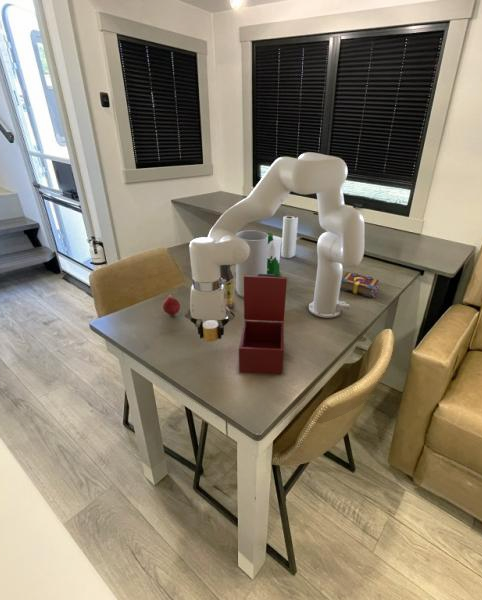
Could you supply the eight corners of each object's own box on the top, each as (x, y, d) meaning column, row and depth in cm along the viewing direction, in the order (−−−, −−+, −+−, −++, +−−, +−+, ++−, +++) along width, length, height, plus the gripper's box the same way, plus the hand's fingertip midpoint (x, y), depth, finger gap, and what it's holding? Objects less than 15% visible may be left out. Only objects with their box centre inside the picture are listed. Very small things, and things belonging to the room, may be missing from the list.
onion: (184, 313, 122) (182, 294, 118) (174, 320, 117) (172, 301, 114) (170, 309, 124) (168, 290, 120) (160, 317, 119) (158, 297, 115)
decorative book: (346, 280, 156) (347, 270, 154) (379, 288, 151) (382, 278, 148) (338, 289, 147) (340, 279, 145) (373, 298, 142) (376, 288, 139)
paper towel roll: (280, 257, 176) (282, 217, 166) (282, 253, 181) (284, 215, 171) (293, 259, 175) (296, 219, 165) (295, 255, 180) (298, 216, 170)
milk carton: (256, 274, 155) (257, 233, 146) (267, 268, 162) (269, 229, 152) (271, 279, 152) (273, 238, 142) (282, 273, 158) (284, 233, 149)
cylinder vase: (241, 301, 133) (241, 241, 121) (233, 287, 143) (232, 231, 130) (270, 296, 137) (272, 239, 125) (260, 283, 147) (261, 229, 135)
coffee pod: (220, 332, 102) (219, 320, 100) (218, 341, 98) (217, 329, 96) (205, 331, 102) (204, 319, 100) (201, 341, 98) (200, 328, 96)
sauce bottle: (230, 310, 126) (229, 262, 116) (215, 307, 127) (212, 259, 117) (236, 302, 132) (235, 255, 122) (221, 300, 132) (219, 253, 123)
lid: (286, 278, 96) (286, 270, 101) (243, 276, 96) (245, 267, 101) (283, 321, 105) (283, 311, 109) (244, 319, 104) (245, 309, 109)
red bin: (282, 374, 97) (283, 350, 92) (239, 372, 96) (238, 348, 92) (282, 344, 109) (283, 322, 105) (244, 342, 109) (244, 320, 105)
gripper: (239, 277, 95) (240, 329, 104) (179, 275, 94) (186, 328, 103) (236, 290, 88) (237, 344, 97) (172, 287, 88) (179, 342, 97)
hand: (211, 335), depth 100 cm, fingers closed on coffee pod, 4 cm apart
